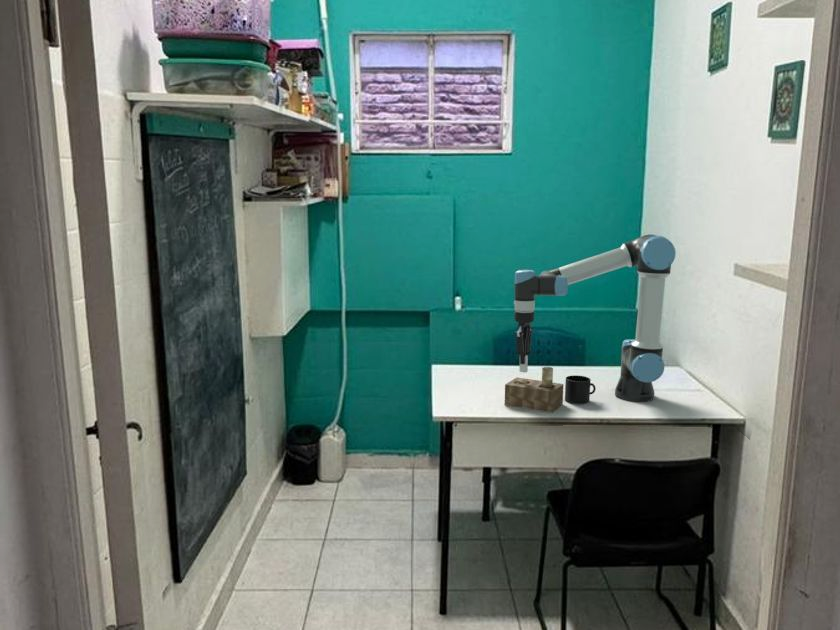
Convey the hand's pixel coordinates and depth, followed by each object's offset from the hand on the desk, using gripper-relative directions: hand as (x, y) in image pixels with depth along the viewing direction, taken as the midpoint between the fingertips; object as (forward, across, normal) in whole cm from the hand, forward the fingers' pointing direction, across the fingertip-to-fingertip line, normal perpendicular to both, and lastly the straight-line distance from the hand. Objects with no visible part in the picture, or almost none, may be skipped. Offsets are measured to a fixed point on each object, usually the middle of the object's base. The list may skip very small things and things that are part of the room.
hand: (523, 371), depth 266 cm
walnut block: (+12, 0, +4) cm, 13 cm away
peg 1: (+12, 0, -1) cm, 12 cm away
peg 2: (+5, 0, +10) cm, 11 cm away
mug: (+13, -14, +18) cm, 26 cm away
